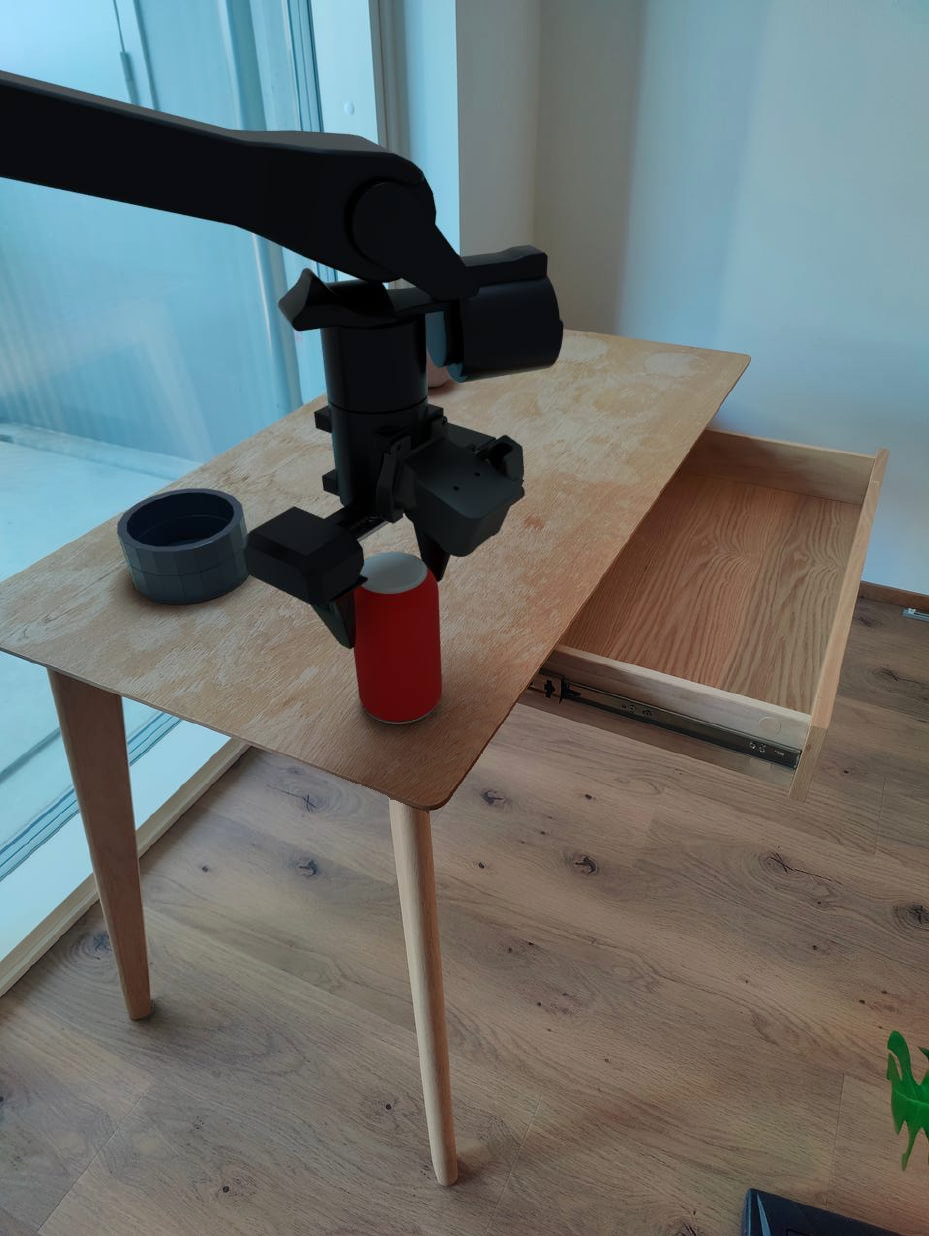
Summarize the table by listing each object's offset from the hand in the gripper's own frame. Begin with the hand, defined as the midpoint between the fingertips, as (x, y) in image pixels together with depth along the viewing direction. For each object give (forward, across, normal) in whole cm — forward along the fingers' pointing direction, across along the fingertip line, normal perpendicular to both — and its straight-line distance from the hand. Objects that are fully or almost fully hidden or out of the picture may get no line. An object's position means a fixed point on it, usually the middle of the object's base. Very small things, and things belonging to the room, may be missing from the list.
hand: (393, 611), depth 57 cm
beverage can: (+9, 0, 0) cm, 9 cm away
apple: (+9, +48, +35) cm, 61 cm away
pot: (+9, +2, +26) cm, 28 cm away
